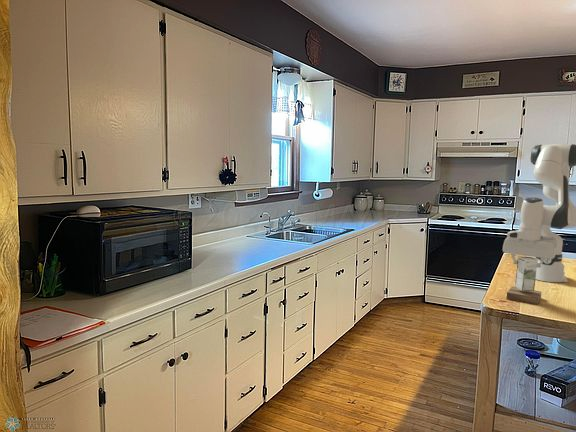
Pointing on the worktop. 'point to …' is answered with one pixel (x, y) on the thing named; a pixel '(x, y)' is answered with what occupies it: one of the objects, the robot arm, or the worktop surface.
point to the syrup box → (526, 273)
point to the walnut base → (524, 295)
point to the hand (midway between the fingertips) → (526, 265)
